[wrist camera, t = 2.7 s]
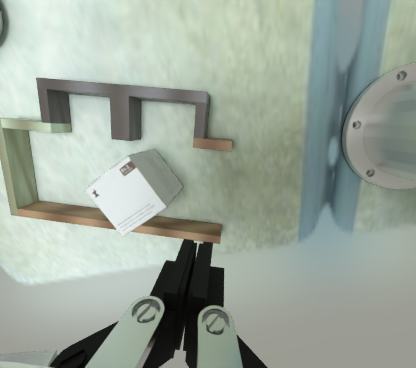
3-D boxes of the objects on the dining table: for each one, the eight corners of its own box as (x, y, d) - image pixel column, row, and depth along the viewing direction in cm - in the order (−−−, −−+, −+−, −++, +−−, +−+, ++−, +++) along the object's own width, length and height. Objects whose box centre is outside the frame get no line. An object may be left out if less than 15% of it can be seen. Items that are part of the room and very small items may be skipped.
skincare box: (149, 210, 27) (122, 238, 20) (120, 173, 26) (80, 190, 19) (184, 186, 26) (168, 207, 19) (155, 146, 25) (125, 154, 18)
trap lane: (236, 98, 23) (238, 94, 20) (220, 231, 27) (219, 243, 24) (12, 79, 24) (-17, 73, 22) (32, 206, 29) (11, 215, 26)
